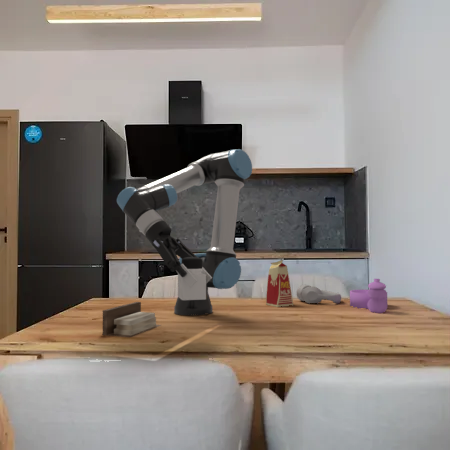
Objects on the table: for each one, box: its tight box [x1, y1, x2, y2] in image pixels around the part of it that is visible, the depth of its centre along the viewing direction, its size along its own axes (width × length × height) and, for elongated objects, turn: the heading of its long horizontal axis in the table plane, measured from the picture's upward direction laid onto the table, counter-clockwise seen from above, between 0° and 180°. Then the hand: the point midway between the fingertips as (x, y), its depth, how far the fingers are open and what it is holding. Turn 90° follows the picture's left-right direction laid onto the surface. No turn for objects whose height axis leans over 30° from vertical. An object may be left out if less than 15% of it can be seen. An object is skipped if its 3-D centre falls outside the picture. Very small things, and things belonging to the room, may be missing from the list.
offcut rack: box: [102, 301, 162, 338], centre depth 126 cm, size 10×18×8 cm, turn 159°
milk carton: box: [265, 259, 294, 308], centre depth 181 cm, size 9×9×20 cm
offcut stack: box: [114, 311, 157, 335], centre depth 126 cm, size 6×14×4 cm, turn 159°
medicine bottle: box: [177, 257, 206, 300], centre depth 119 cm, size 7×7×12 cm
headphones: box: [296, 284, 342, 304], centre depth 190 cm, size 18×8×20 cm
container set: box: [349, 278, 388, 314], centre depth 172 cm, size 25×15×13 cm, turn 175°
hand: (201, 282), depth 118 cm, fingers closed on medicine bottle, 10 cm apart
